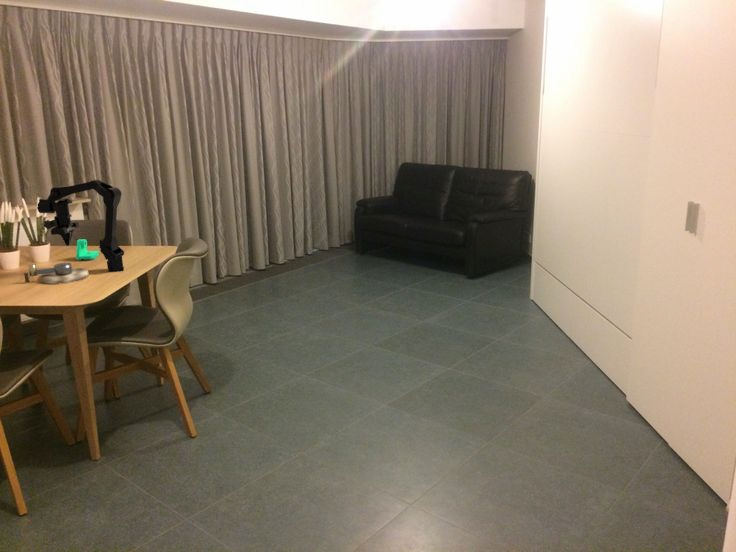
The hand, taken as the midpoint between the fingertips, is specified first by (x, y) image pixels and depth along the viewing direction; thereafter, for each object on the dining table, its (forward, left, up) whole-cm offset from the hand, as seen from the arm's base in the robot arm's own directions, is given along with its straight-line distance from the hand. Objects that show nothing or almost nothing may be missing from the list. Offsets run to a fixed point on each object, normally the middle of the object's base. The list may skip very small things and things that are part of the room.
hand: (67, 245), depth 272 cm
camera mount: (-7, -22, -12) cm, 26 cm away
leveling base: (+5, +15, -12) cm, 20 cm away
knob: (+7, +15, -10) cm, 19 cm away
